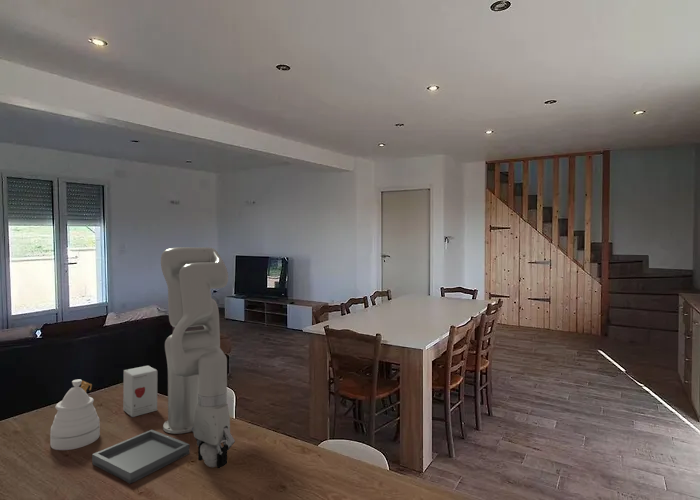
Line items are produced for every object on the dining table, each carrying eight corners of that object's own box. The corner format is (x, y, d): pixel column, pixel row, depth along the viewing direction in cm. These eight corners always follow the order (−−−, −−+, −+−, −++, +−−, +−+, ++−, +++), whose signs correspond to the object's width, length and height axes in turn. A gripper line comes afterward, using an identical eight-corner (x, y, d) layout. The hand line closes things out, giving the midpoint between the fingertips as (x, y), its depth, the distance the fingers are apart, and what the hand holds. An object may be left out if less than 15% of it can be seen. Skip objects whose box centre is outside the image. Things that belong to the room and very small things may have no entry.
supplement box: (131, 418, 147) (131, 375, 147) (122, 410, 154) (122, 369, 153) (158, 410, 154) (158, 369, 154) (148, 403, 160) (148, 364, 160)
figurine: (82, 408, 155) (82, 376, 155) (97, 409, 154) (97, 377, 154) (63, 418, 147) (63, 383, 146) (79, 419, 146) (78, 385, 145)
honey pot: (57, 434, 135) (57, 378, 134) (103, 428, 139) (103, 374, 139) (44, 453, 123) (43, 392, 122) (95, 446, 127) (94, 387, 127)
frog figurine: (207, 458, 121) (207, 434, 120) (229, 462, 119) (229, 437, 119) (194, 469, 115) (194, 444, 115) (217, 473, 113) (217, 447, 113)
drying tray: (151, 438, 133) (151, 429, 133) (189, 453, 123) (189, 444, 123) (92, 464, 117) (92, 454, 117) (130, 483, 108) (130, 473, 108)
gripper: (180, 396, 118) (180, 459, 118) (224, 409, 109) (224, 478, 109) (202, 388, 124) (202, 448, 124) (245, 400, 115) (245, 465, 116)
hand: (212, 461), depth 117 cm, fingers closed on frog figurine, 6 cm apart
